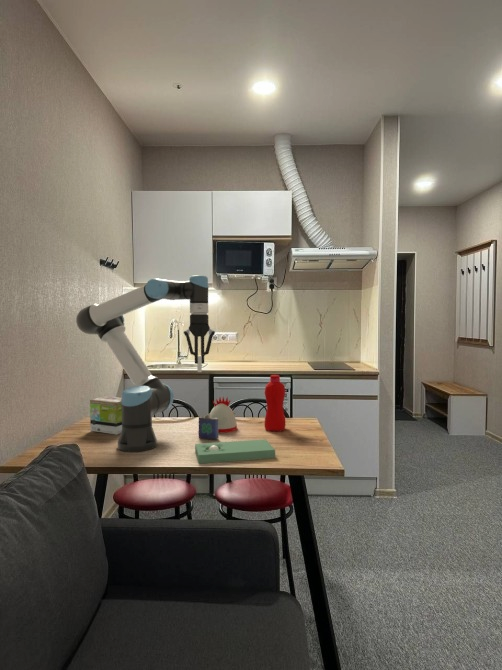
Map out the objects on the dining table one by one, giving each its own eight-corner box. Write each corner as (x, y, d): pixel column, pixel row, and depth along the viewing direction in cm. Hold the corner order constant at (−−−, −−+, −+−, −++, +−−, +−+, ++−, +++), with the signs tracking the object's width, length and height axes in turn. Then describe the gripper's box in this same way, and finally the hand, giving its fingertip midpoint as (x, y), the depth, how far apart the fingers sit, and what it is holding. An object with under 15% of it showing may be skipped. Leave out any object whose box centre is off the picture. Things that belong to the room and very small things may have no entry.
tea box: (89, 431, 200) (88, 399, 199) (104, 426, 209) (104, 395, 208) (116, 435, 194) (116, 401, 193) (131, 429, 203) (130, 397, 203)
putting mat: (198, 463, 156) (198, 455, 156) (195, 451, 170) (195, 443, 170) (275, 457, 162) (275, 449, 162) (265, 446, 176) (265, 439, 176)
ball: (209, 458, 162) (208, 447, 162) (208, 455, 166) (207, 444, 166) (220, 457, 163) (219, 446, 163) (218, 453, 167) (218, 443, 167)
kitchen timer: (235, 432, 197) (235, 399, 197) (205, 432, 198) (204, 399, 197) (237, 425, 211) (237, 393, 210) (208, 425, 211) (208, 393, 211)
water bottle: (286, 426, 208) (286, 373, 207) (284, 432, 197) (284, 376, 196) (267, 425, 210) (266, 373, 209) (263, 431, 199) (263, 376, 198)
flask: (219, 438, 188) (219, 413, 187) (216, 440, 185) (216, 415, 184) (200, 436, 191) (199, 412, 190) (196, 438, 188) (196, 413, 188)
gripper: (183, 313, 175) (183, 373, 176) (216, 313, 177) (216, 372, 178) (182, 313, 182) (182, 370, 183) (214, 313, 185) (214, 370, 186)
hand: (199, 371), depth 181 cm, fingers closed
